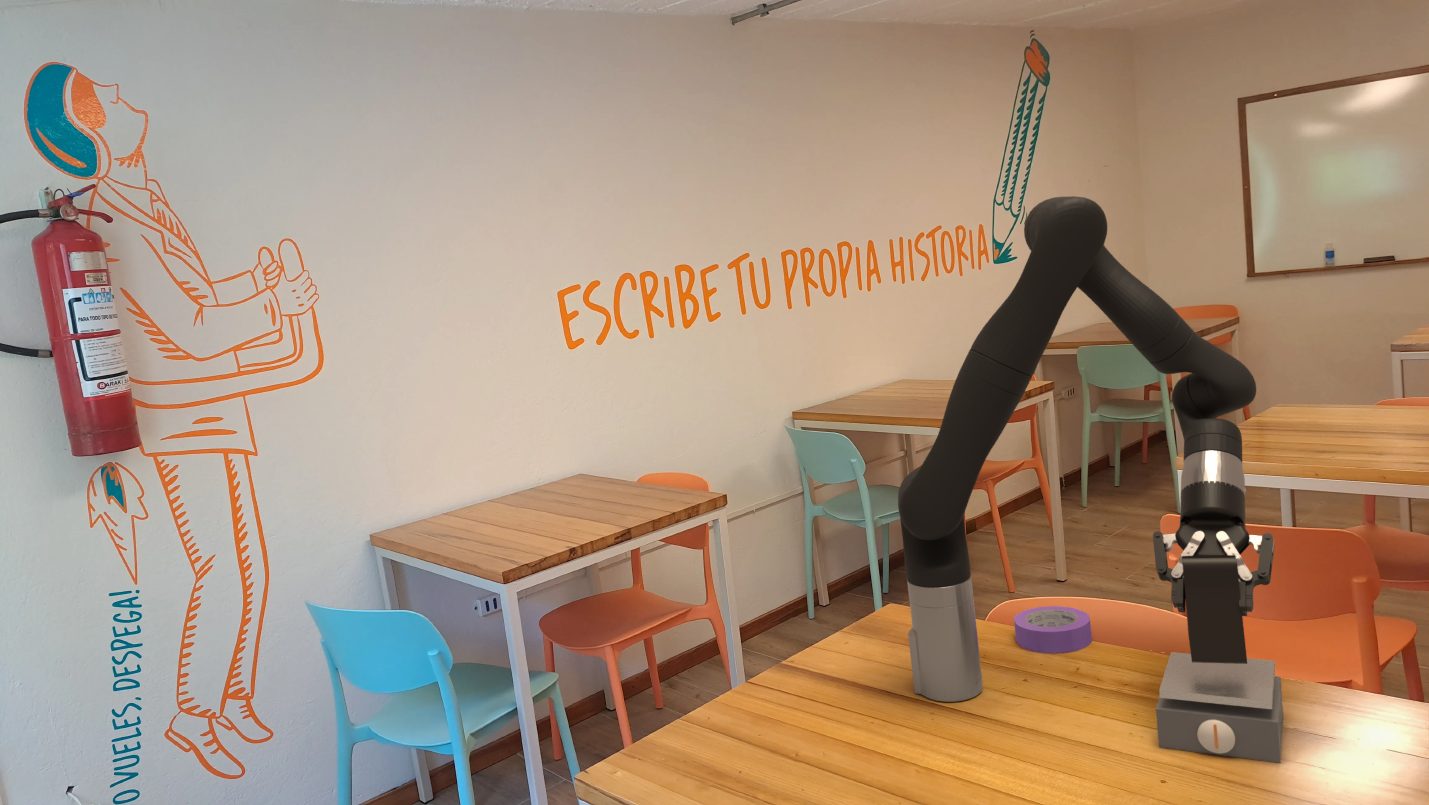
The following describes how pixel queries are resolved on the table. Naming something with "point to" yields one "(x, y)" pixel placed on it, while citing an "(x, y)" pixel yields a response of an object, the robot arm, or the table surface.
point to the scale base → (1222, 727)
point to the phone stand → (1214, 609)
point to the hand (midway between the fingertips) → (1211, 611)
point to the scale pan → (1219, 682)
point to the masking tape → (1053, 629)
